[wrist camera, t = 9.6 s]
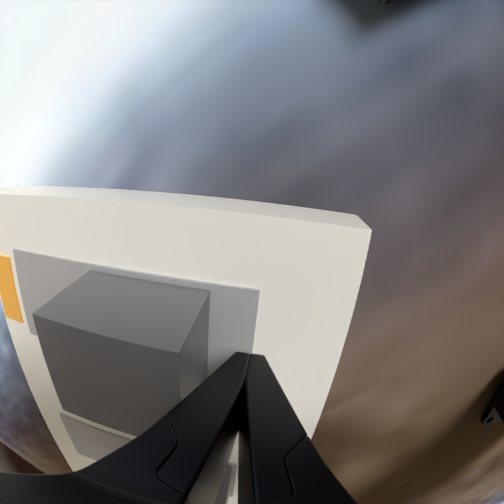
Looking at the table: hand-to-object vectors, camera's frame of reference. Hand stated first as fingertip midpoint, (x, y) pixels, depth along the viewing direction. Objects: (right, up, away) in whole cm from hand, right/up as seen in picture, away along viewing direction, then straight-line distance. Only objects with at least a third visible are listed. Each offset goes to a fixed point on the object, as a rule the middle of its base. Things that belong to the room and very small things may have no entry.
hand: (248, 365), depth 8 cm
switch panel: (-5, -7, +6) cm, 10 cm away
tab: (-3, +1, +1) cm, 3 cm away
